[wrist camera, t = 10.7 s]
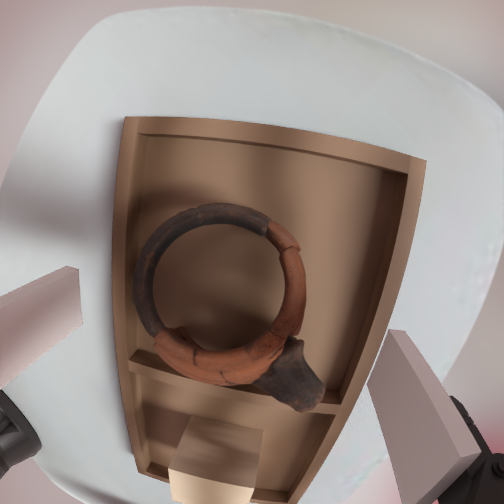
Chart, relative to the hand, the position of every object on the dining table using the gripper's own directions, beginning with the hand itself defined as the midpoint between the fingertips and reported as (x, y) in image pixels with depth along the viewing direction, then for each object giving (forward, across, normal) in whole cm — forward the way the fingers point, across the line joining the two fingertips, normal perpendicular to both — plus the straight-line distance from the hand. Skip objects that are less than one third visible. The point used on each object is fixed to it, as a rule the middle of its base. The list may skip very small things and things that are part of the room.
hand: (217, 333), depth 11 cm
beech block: (+7, 0, -16) cm, 17 cm away
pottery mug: (+7, 0, -1) cm, 7 cm away
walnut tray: (+8, 0, -8) cm, 11 cm away
